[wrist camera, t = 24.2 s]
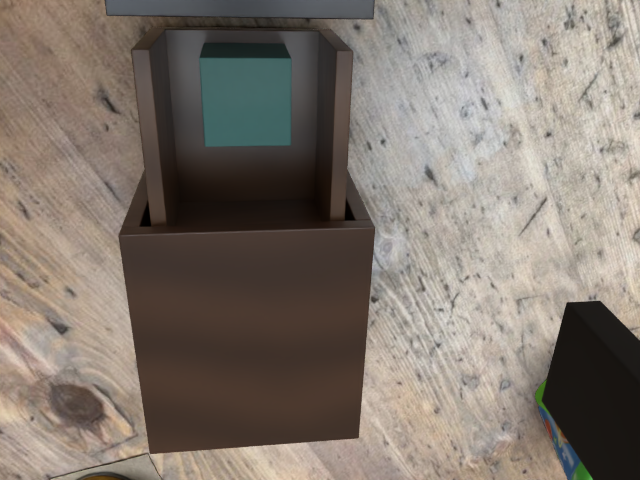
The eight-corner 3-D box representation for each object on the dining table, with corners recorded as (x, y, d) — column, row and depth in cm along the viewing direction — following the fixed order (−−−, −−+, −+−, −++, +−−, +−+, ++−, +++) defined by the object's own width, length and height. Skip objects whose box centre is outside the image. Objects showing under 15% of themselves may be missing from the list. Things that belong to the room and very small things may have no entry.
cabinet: (145, 165, 37) (117, 234, 29) (344, 162, 39) (375, 227, 30) (166, 352, 44) (149, 454, 35) (335, 343, 46) (358, 438, 37)
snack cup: (668, 399, 53) (756, 493, 44) (573, 465, 56) (638, 566, 47) (582, 303, 47) (664, 389, 38) (479, 382, 49) (533, 481, 40)
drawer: (112, -204, 28) (72, -250, 21) (353, -190, 29) (389, -229, 22) (157, 207, 38) (139, 268, 31) (336, 202, 39) (357, 260, 32)
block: (203, 42, 32) (198, 57, 28) (285, 43, 33) (291, 58, 29) (208, 122, 34) (204, 147, 30) (285, 122, 35) (291, 145, 31)
